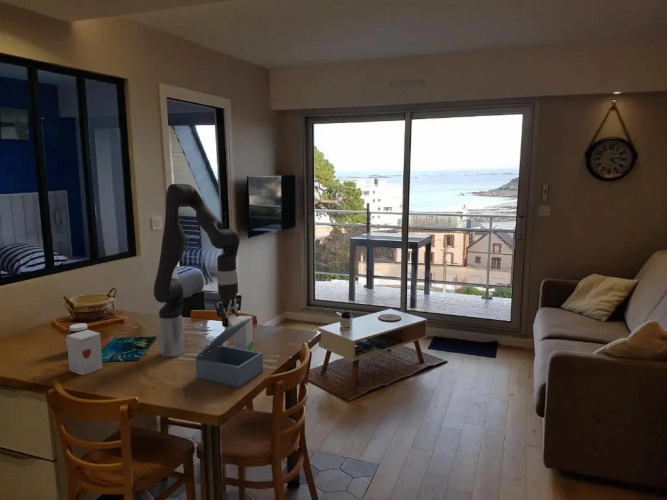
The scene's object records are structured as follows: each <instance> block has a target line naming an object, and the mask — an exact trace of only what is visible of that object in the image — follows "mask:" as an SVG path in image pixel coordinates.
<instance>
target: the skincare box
mask: <svg viewBox="0 0 667 500" xmlns="http://www.w3.org/2000/svg"><path fill="white" fill-rule="evenodd" d="M237 318H238V319H239V320H240V322H243V321H245V320H247V319H249V318H251V320H250V321H249V322H247V323H246V324H245V325H244V326H243V327H242V328H241V329H239V330H238V331H237V332H236V333H235V334H234V335H233V336H232V337H233V339H232V340H233V348H238V349H244V350H249V351H253V350H254V334H253V333H254V332H253V331H254V329H253V327H254V326H253V316H251V315H239V316H238V315H237Z"/></svg>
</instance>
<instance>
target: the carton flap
mask: <svg viewBox="0 0 667 500" xmlns="http://www.w3.org/2000/svg"><path fill="white" fill-rule="evenodd" d="M237 317H238V315H237V316H236V315H235V313H234V314H232V315H231V314H230V315H228V327H227V328H226V329H224V330H223V331H222V332H221V333H220V334H219V335H218V336H217V337H215V338H214V339H213V340H212V341H211V342H210V343H209V344H208V345H207V346H206V347H205V348H203V349H202V350H201V351H200V352H199V353H198V354H197V355H196V356H194V359H195V360H196V358H198V357H200V356H202V355H204V354H206V353H208V352H210V351H212V350H214V349H216V348H218V347H220V346H221V345H222V346H223V345H224V344H226V342H227V341H228V340H229V339H231V338H232V337H233V335H234V334H235V333H236V332H237V331H238V330H239V329H241V328H242V327H243V326H244V325H245V324H246V323H247V322H249V321H250V320H251V318H249V319H247V320H245V321H243V322H240V320H239V319H238V318H237Z"/></svg>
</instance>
